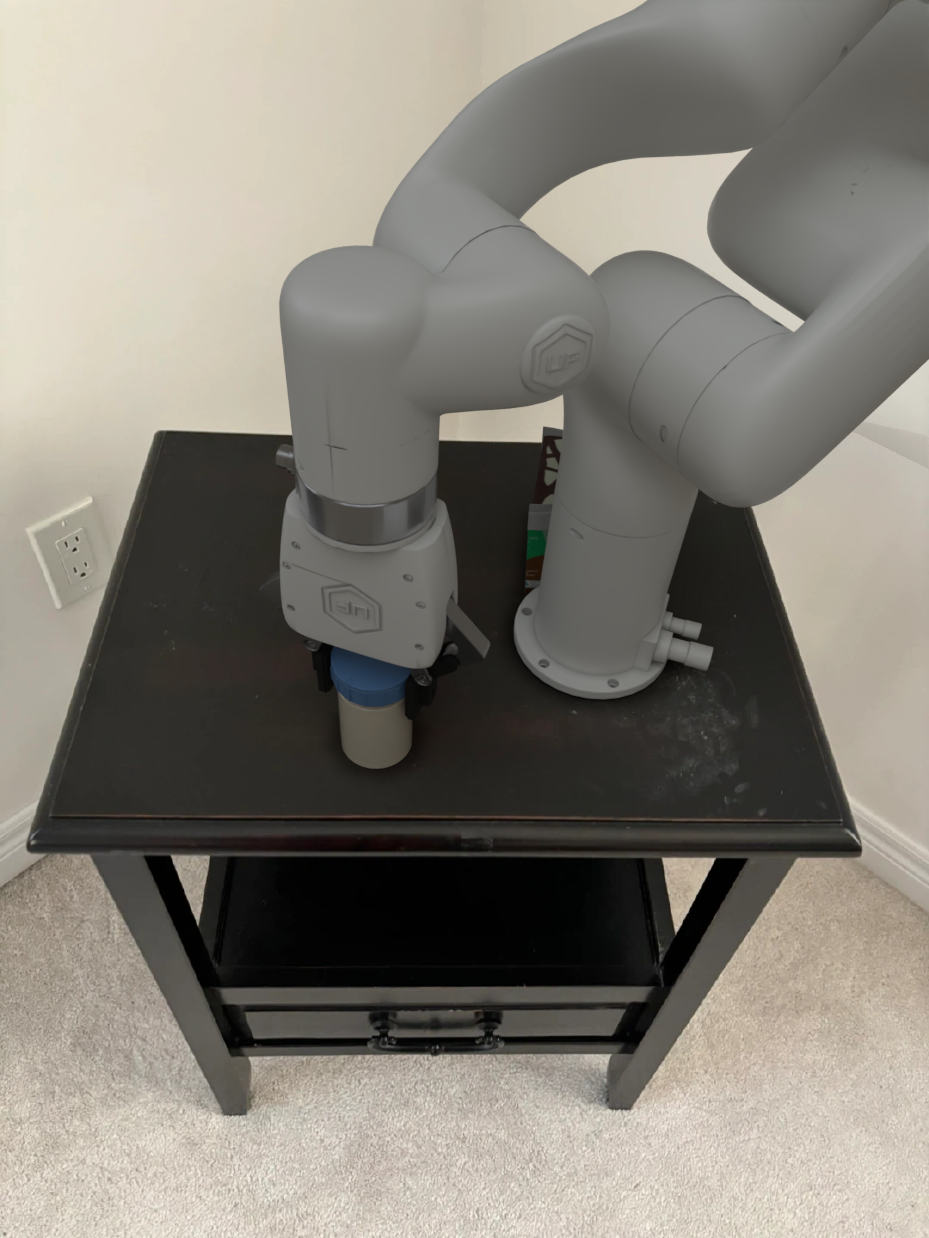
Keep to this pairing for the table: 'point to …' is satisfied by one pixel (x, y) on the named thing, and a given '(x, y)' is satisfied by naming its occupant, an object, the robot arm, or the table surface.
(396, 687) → the lid
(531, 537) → the food container
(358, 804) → the table surface
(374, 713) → the jar
